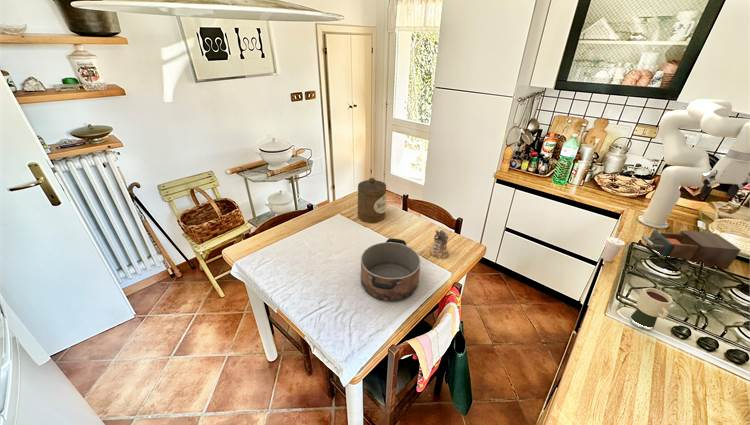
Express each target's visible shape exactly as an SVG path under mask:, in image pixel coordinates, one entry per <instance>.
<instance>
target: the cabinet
mask: <svg viewBox="0 0 750 425" xmlns="http://www.w3.org/2000/svg"><path fill="white" fill-rule="evenodd" d="M678 234H684V235H685V236H687V237H688V238H689V239H691V240H692V241H693V242H695V243H696V244H697V245H699V246H700V248H699V250H698V251H697V253H696V254H695V256H694V257H693V259H692V260H691V261H692V262H699V261H700V260H701V259H702V260H703V263H704V266H703V267H706V266H708V267H707V268H714V267H713V265H714V264H717V265H718V267H719V268H718V269H726V270H728V269H729V267H731V264H732V263H733V262H734V260H735V259H736V258H737V256H738V255H739V254H740V252H741V251H742V249H740V248H739V247H737V246H736V245H734V244H733V243H731V242H730V241H728V240H727V239H725V238H724V237H722V236H721V235H719V234H718V233H715V232H705V231H704V232H703V231H693V230H683V229H682V230H680V232H679V233H678ZM689 261H690V260H689Z"/></svg>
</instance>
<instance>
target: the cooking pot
mask: <svg viewBox="0 0 750 425" xmlns="http://www.w3.org/2000/svg"><path fill="white" fill-rule="evenodd" d="M421 264H422V263H421V257H420V255H419V254H418V252H417V251H416V250H415V249H413V248H412V247H410V246H408V245H407V242H406V241H405V240H404V239H401V238H400V239H399V238H393V237H392V238H388V239H386V241H385V242H378V243H375V244H373V245H370V246H369V247H367V248H366V249H365V250H364V251H363V252H362V253H361V256H360V282H361V286H362V288H363V289H364V291H365V292H366V293H367V294H368V295H370V296H371V297H373V298H375V299H377V300H380V301H386V302H396V301H402V300H405V299H407V298H409V297H411V296H412V295H413V294H414V293H415V292H416V291H417V289H418V287H419V280H420V272H421Z"/></svg>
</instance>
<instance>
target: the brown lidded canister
mask: <svg viewBox="0 0 750 425" xmlns="http://www.w3.org/2000/svg"><path fill="white" fill-rule="evenodd" d="M386 208H387V184H386V183H385V182H384V181H381V180H376V179H375V178H374V177H370V178H369V179H368V180H363V181H360V182H359V183H358V184H357V218H358V219H359V220H360V221H361V222H364V223H367V224H375V223H379V222H382V221H384V219H386Z"/></svg>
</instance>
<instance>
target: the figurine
mask: <svg viewBox="0 0 750 425" xmlns="http://www.w3.org/2000/svg"><path fill="white" fill-rule="evenodd" d="M448 239H449V236H448V234H447V232H446V231H445V230H443V229H441V230H438V229H437V230H435V234H434V237H433V242H432V244H431V249H430V254H431V256H432V257H434V258H436V259H444V258H446V257H448V246H447V244H449V243H448Z"/></svg>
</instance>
